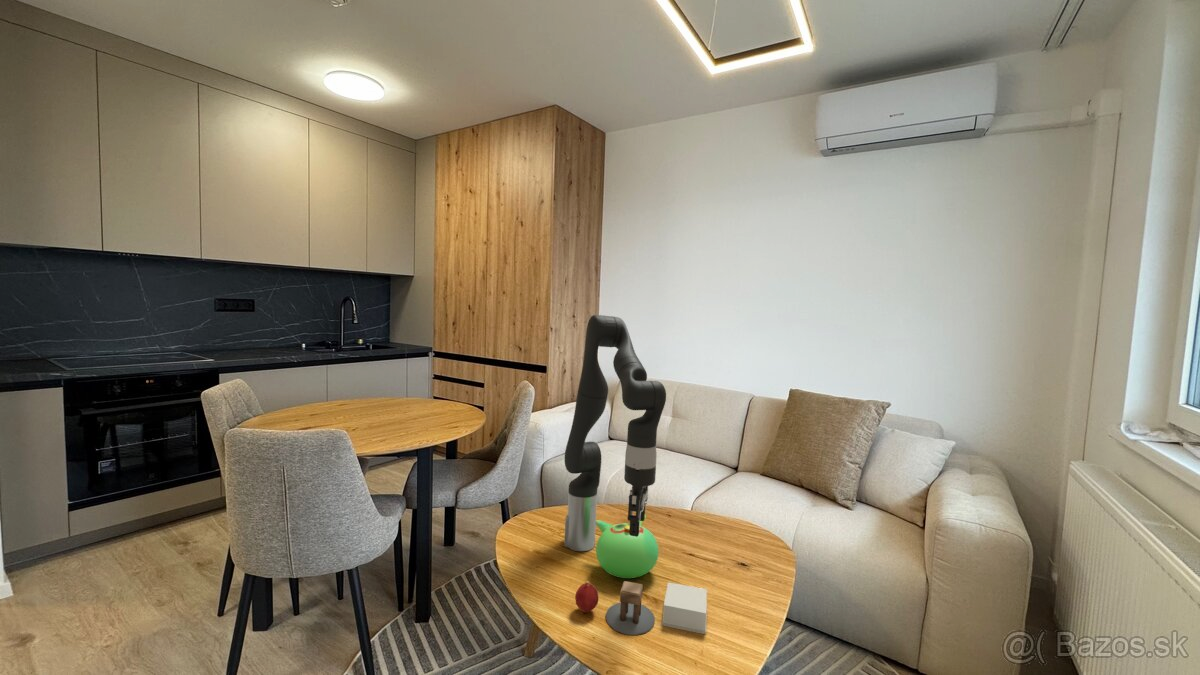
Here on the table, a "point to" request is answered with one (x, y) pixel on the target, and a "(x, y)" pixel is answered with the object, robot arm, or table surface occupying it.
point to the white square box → (685, 608)
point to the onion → (586, 597)
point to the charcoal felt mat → (630, 620)
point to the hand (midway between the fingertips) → (637, 527)
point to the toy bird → (626, 550)
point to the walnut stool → (631, 600)
